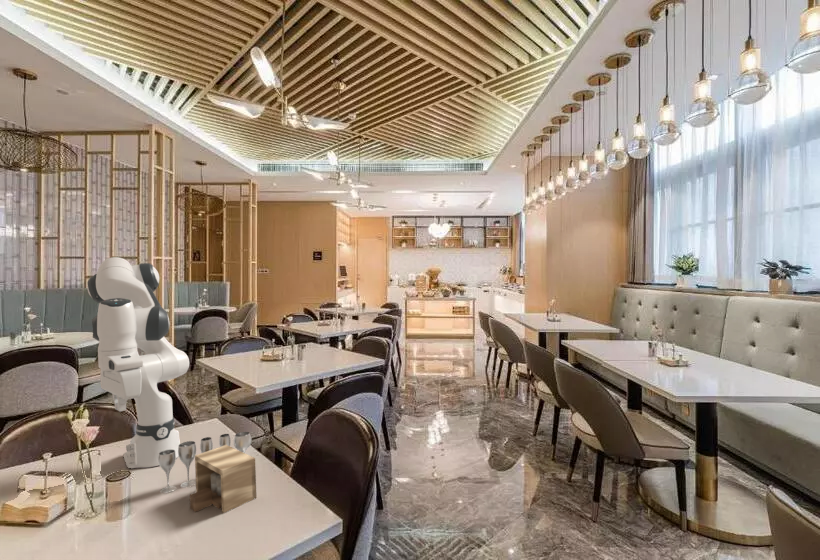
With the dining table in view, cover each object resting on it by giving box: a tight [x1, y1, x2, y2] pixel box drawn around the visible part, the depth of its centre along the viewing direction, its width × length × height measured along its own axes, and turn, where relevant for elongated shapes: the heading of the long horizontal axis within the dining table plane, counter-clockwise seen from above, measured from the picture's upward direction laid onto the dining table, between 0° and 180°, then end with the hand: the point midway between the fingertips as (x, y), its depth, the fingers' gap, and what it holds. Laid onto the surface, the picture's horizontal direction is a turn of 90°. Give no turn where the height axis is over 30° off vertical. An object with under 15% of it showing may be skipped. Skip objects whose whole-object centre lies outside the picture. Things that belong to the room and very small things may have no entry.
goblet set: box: [158, 431, 252, 494], centre depth 142 cm, size 28×6×13 cm, turn 126°
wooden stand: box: [194, 445, 257, 514], centre depth 130 cm, size 17×10×12 cm, turn 51°
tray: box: [189, 472, 222, 513], centre depth 127 cm, size 11×12×6 cm
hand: (120, 410), depth 116 cm, fingers closed
